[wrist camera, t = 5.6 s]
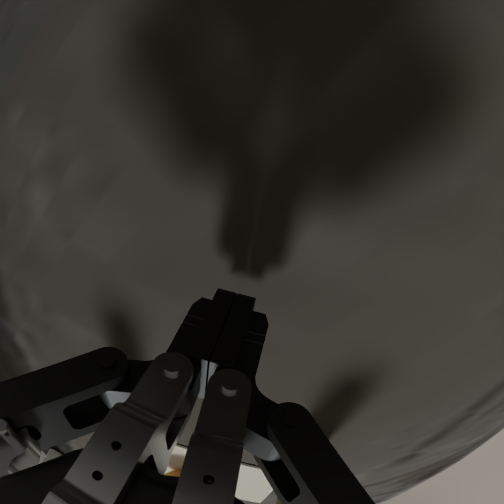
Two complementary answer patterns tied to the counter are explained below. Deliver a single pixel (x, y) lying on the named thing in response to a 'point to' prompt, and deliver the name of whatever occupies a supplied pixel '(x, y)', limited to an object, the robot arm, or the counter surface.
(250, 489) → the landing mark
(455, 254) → the counter surface
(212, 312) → the robot arm
